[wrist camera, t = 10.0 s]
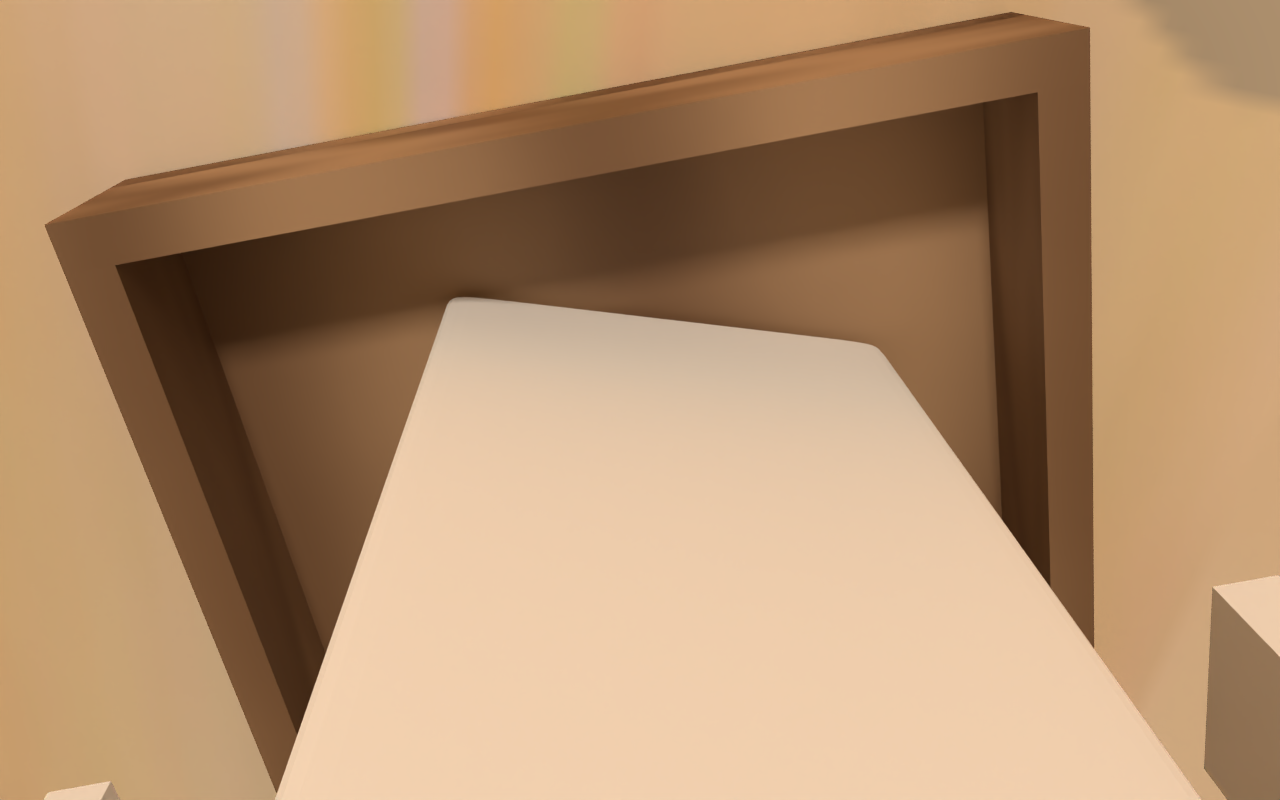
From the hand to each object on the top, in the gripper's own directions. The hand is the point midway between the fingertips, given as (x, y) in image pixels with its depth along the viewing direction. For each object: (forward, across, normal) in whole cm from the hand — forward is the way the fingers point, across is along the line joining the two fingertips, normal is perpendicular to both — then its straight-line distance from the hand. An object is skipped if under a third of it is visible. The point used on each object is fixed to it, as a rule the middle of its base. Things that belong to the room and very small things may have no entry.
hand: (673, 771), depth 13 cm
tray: (+7, 0, 0) cm, 7 cm away
